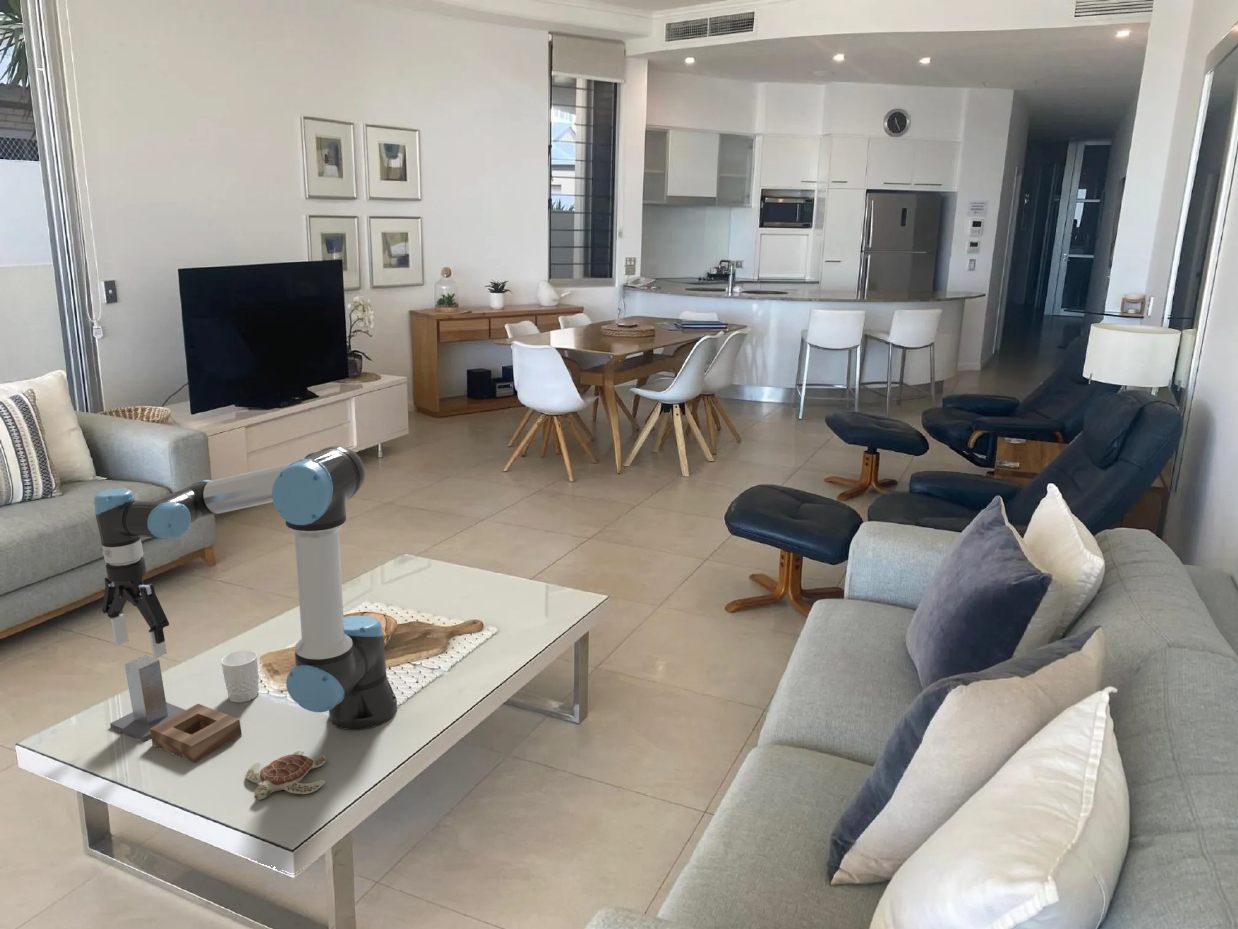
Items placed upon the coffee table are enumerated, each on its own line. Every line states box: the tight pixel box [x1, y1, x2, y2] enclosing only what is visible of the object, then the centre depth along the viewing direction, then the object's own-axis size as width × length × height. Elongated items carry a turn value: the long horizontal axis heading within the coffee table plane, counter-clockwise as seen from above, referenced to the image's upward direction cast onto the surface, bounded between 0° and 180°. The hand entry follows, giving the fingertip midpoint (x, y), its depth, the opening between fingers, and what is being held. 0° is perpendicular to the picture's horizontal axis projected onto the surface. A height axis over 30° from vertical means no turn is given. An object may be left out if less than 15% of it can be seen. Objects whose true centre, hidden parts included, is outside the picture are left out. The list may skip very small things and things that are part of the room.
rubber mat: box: [109, 701, 186, 742], centre depth 212 cm, size 12×12×1 cm
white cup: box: [220, 650, 260, 704], centre depth 221 cm, size 8×8×10 cm
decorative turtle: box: [245, 750, 327, 800], centre depth 189 cm, size 18×17×5 cm
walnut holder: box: [150, 703, 243, 764], centre depth 204 cm, size 14×12×4 cm
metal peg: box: [124, 654, 168, 726], centre depth 210 cm, size 5×5×14 cm
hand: (140, 649), depth 207 cm, fingers open, 13 cm apart
